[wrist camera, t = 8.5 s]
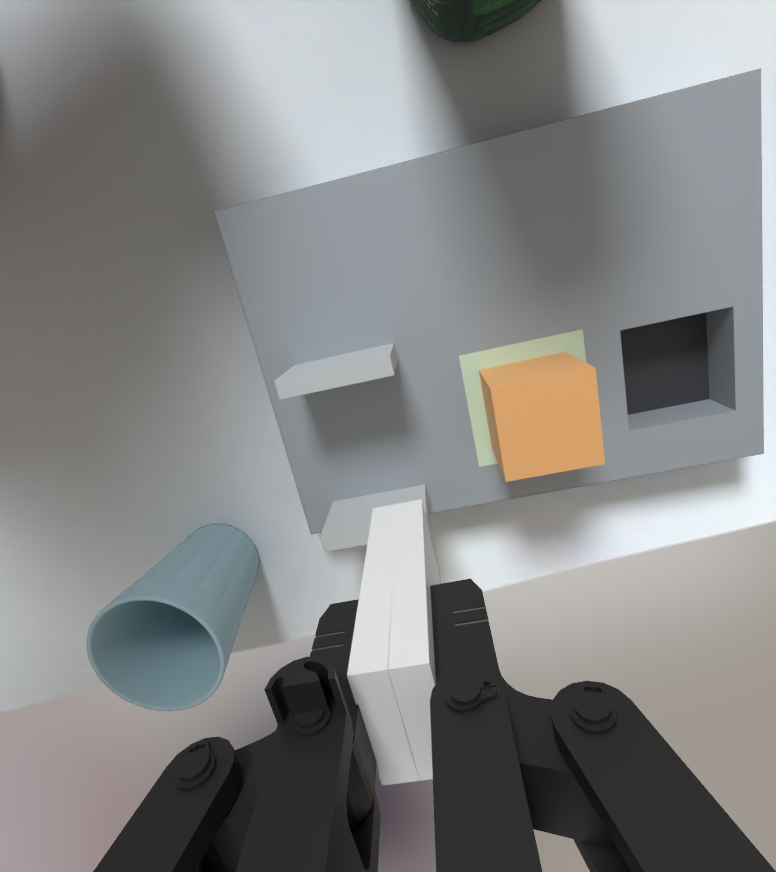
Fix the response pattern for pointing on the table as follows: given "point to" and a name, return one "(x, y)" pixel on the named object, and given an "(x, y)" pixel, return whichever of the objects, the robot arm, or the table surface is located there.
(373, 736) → the robot arm
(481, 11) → the coffee jar
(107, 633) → the cup
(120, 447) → the table surface
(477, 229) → the platform
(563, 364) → the orange block
